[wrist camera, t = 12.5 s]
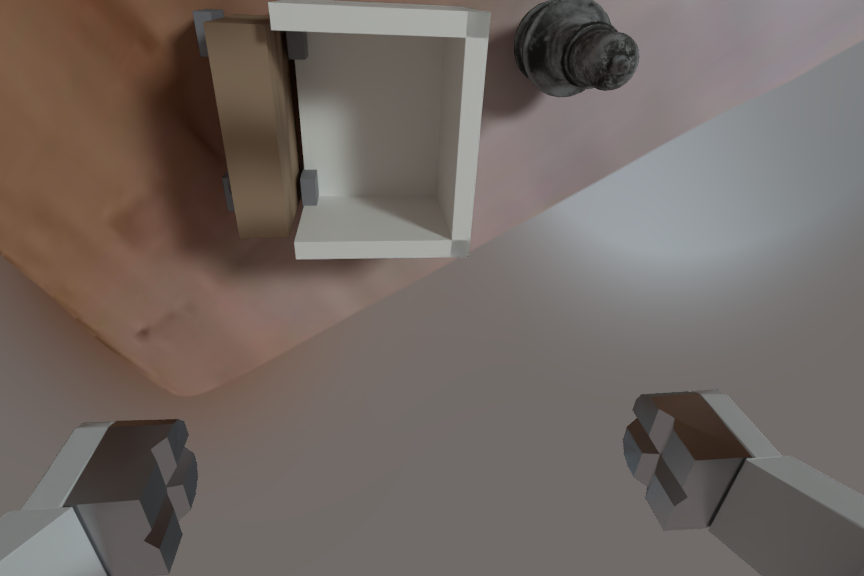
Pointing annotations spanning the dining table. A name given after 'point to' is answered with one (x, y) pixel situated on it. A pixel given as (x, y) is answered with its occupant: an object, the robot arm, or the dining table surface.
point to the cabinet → (383, 124)
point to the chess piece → (573, 48)
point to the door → (256, 122)
